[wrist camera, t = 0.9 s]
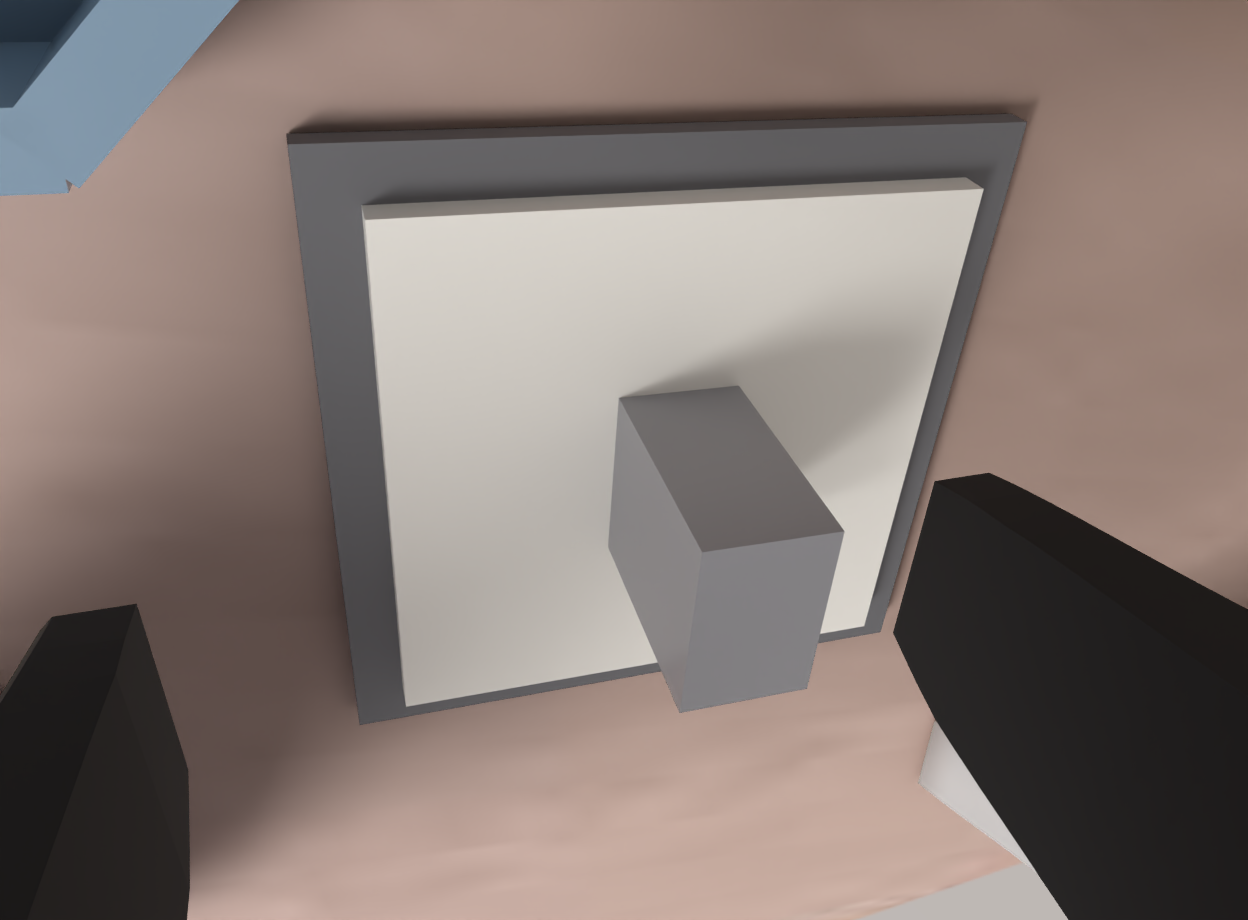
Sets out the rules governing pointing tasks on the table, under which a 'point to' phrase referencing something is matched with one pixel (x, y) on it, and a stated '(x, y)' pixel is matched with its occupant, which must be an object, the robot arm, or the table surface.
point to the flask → (963, 792)
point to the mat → (564, 166)
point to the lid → (651, 424)
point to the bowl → (85, 79)
